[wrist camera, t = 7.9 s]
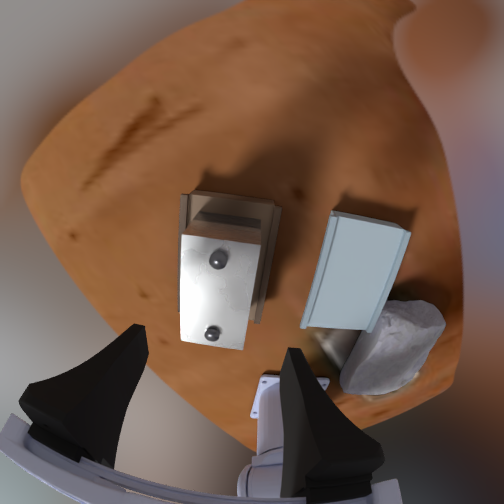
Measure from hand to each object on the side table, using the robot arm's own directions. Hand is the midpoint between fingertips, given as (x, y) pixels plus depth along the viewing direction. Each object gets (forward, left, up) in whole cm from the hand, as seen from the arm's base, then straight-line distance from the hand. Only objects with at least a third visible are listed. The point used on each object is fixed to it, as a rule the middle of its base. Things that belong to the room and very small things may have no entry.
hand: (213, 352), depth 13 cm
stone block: (-8, -18, -11) cm, 23 cm away
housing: (0, +1, -9) cm, 9 cm away
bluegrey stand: (0, -10, -10) cm, 14 cm away
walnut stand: (0, +1, -10) cm, 10 cm away
